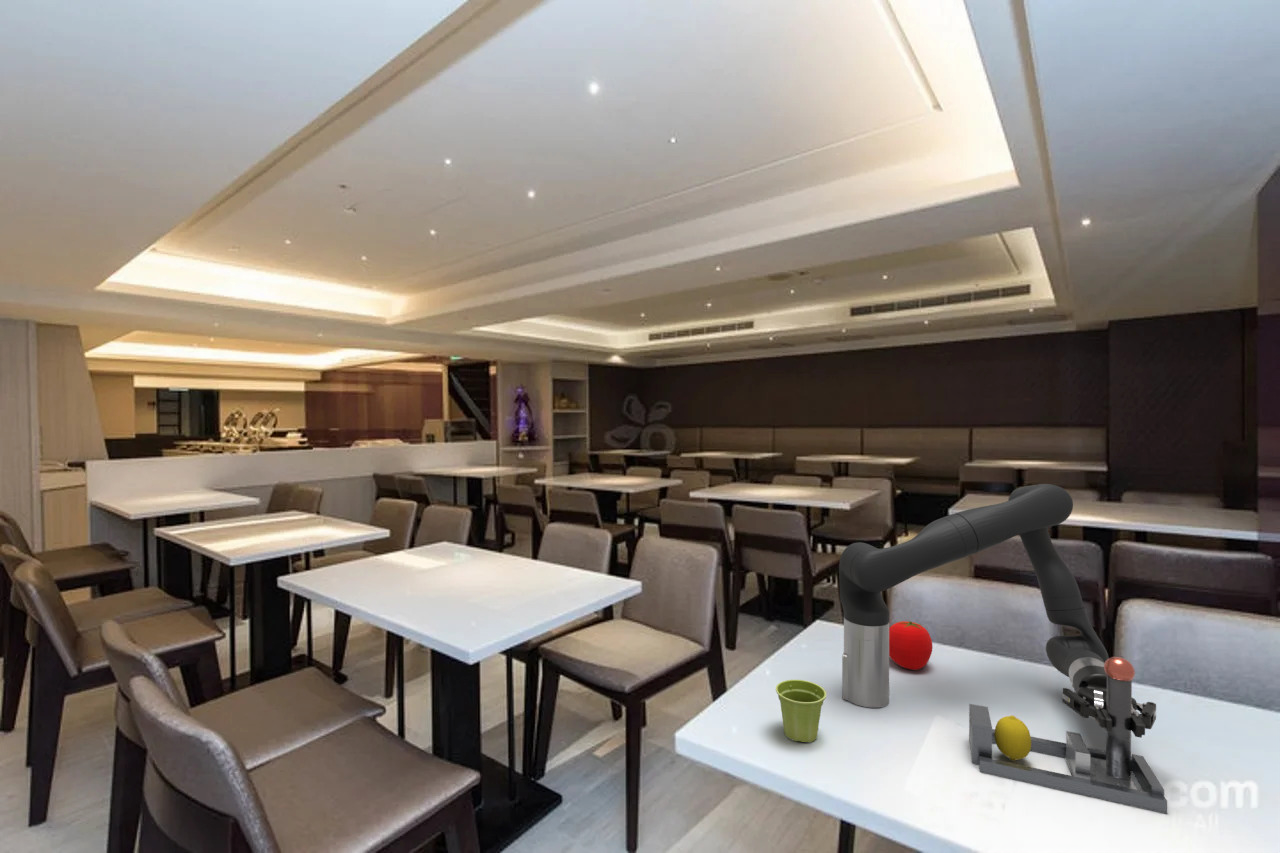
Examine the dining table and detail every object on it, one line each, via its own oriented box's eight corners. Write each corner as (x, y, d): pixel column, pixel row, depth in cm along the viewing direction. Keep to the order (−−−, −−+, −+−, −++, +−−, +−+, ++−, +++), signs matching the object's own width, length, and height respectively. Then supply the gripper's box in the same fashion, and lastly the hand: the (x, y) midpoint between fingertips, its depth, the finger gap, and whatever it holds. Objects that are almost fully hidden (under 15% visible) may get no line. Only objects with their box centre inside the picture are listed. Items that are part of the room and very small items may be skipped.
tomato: (892, 674, 140) (892, 628, 140) (880, 656, 150) (880, 614, 150) (939, 676, 138) (940, 630, 138) (924, 658, 149) (924, 615, 149)
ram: (1075, 784, 97) (1077, 659, 97) (1065, 758, 105) (1066, 642, 104) (1141, 798, 94) (1142, 669, 93) (1125, 771, 101) (1127, 651, 100)
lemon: (1037, 771, 101) (1037, 725, 101) (1001, 767, 103) (1001, 722, 102) (1023, 753, 107) (1023, 709, 107) (989, 750, 108) (989, 706, 108)
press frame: (973, 770, 102) (973, 730, 102) (968, 734, 113) (968, 698, 113) (1167, 813, 90) (1167, 768, 90) (1140, 769, 102) (1140, 729, 102)
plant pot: (837, 740, 112) (837, 694, 111) (800, 754, 107) (800, 706, 107) (801, 718, 120) (801, 675, 120) (765, 730, 115) (765, 686, 115)
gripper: (1051, 658, 114) (1071, 697, 98) (1144, 671, 108) (1181, 715, 92) (1051, 696, 114) (1070, 741, 98) (1143, 712, 108) (1180, 762, 92)
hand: (1124, 728), depth 95 cm, fingers closed on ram, 3 cm apart
